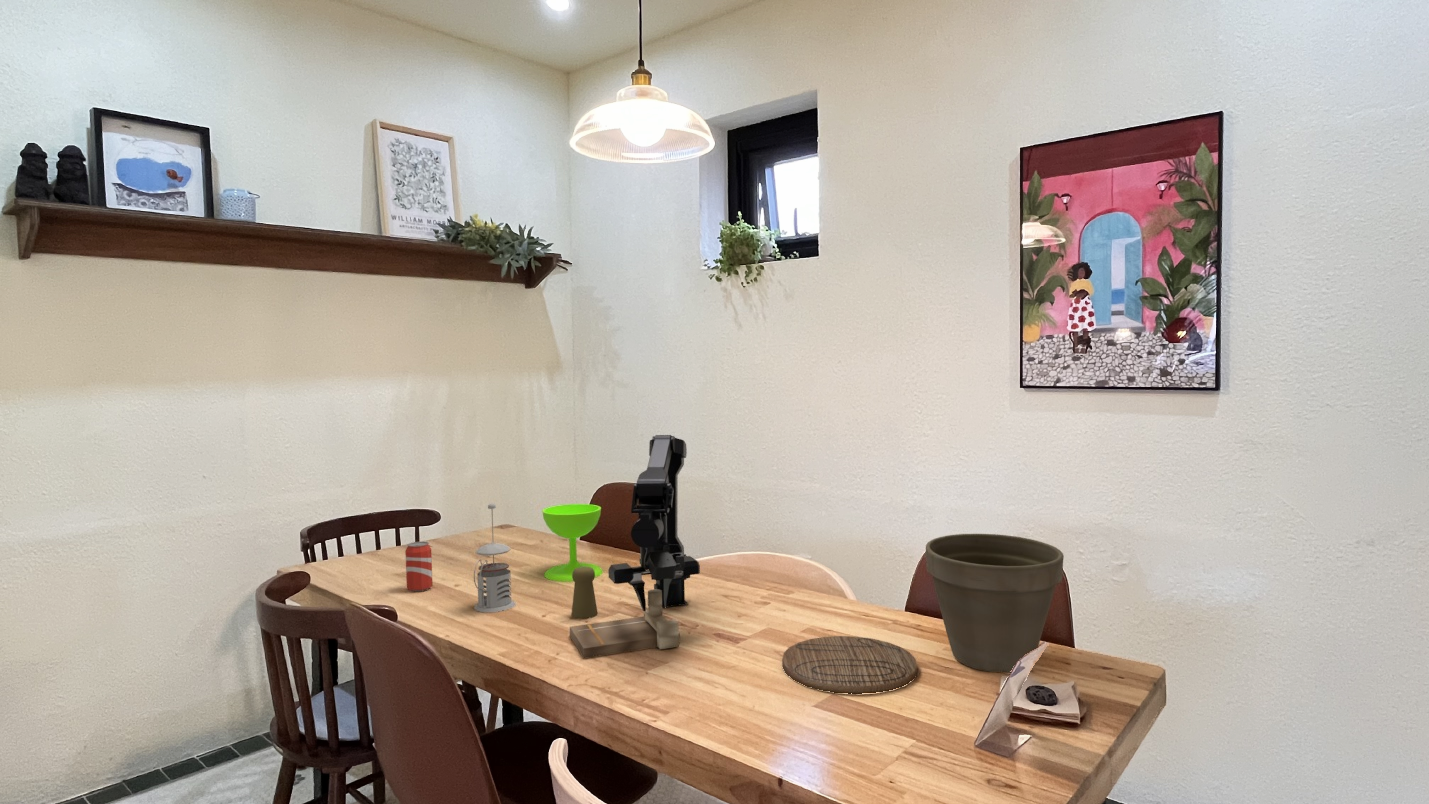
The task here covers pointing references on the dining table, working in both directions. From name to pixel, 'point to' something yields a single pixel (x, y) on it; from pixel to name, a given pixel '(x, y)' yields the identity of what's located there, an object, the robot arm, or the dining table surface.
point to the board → (614, 637)
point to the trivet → (849, 664)
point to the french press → (493, 578)
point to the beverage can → (418, 566)
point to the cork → (583, 593)
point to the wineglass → (571, 534)
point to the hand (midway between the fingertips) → (655, 609)
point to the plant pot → (993, 595)
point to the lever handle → (661, 621)
